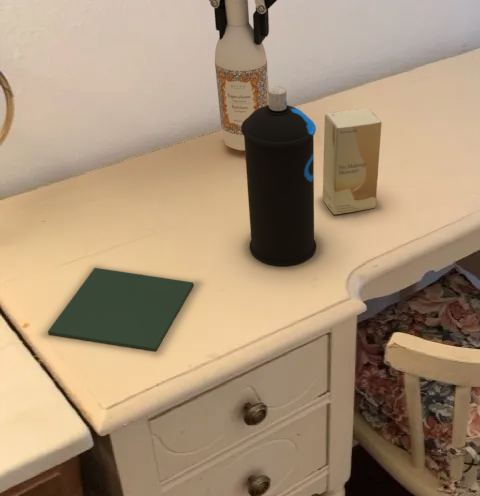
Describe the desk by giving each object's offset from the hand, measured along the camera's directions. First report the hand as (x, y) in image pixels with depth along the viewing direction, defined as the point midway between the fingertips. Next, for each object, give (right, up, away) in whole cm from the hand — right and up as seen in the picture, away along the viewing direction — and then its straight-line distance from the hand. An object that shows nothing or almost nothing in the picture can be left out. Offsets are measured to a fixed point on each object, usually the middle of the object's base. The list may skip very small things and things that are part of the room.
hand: (242, 37), depth 110 cm
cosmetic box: (+14, -22, +1) cm, 26 cm away
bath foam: (-1, -11, +10) cm, 15 cm away
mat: (-10, -38, -17) cm, 43 cm away
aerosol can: (+6, -29, -7) cm, 31 cm away
